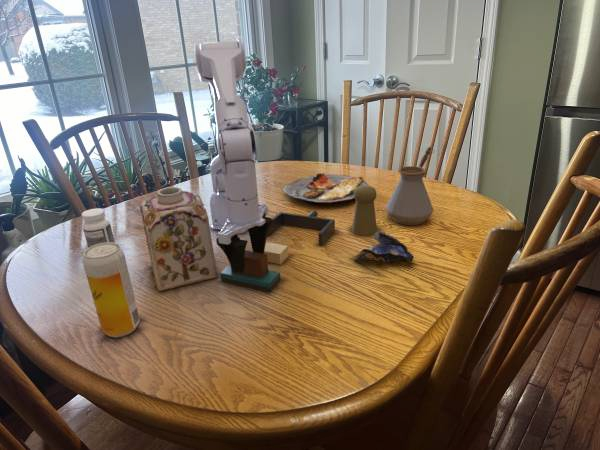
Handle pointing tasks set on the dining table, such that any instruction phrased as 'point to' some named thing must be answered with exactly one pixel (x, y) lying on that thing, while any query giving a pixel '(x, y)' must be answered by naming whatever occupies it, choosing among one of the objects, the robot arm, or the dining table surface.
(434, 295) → the dining table surface
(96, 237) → the pill bottle
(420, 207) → the coffee pot
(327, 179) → the food plate
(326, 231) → the dark grey u-shaped frame
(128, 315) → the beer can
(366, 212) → the olive pepper shaker
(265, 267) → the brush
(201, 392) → the dining table surface
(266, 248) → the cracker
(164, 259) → the decorative jar
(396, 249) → the snack package
